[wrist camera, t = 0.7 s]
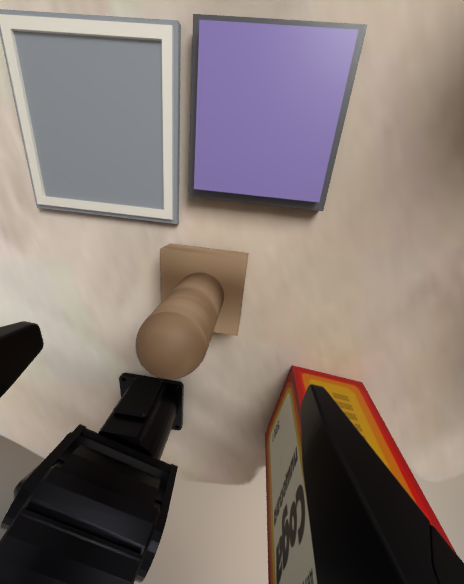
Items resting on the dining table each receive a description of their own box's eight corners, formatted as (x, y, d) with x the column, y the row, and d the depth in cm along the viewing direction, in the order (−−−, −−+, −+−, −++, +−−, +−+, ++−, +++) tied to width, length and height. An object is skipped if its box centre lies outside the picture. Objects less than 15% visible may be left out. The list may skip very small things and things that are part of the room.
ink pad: (319, 210, 16) (325, 211, 15) (192, 196, 17) (186, 196, 15) (359, 36, 13) (372, 16, 11) (197, 26, 13) (190, 5, 12)
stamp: (239, 319, 20) (223, 426, 11) (172, 310, 21) (100, 405, 11) (248, 251, 18) (237, 312, 9) (172, 242, 18) (81, 291, 9)
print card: (178, 223, 18) (175, 224, 17) (41, 207, 18) (34, 207, 18) (180, 25, 13) (177, 18, 13) (2, 13, 14) (-9, 6, 14)
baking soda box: (324, 448, 25) (417, 808, 10) (265, 433, 25) (273, 768, 10) (362, 382, 21) (589, 796, 7) (292, 365, 21) (362, 734, 7)
